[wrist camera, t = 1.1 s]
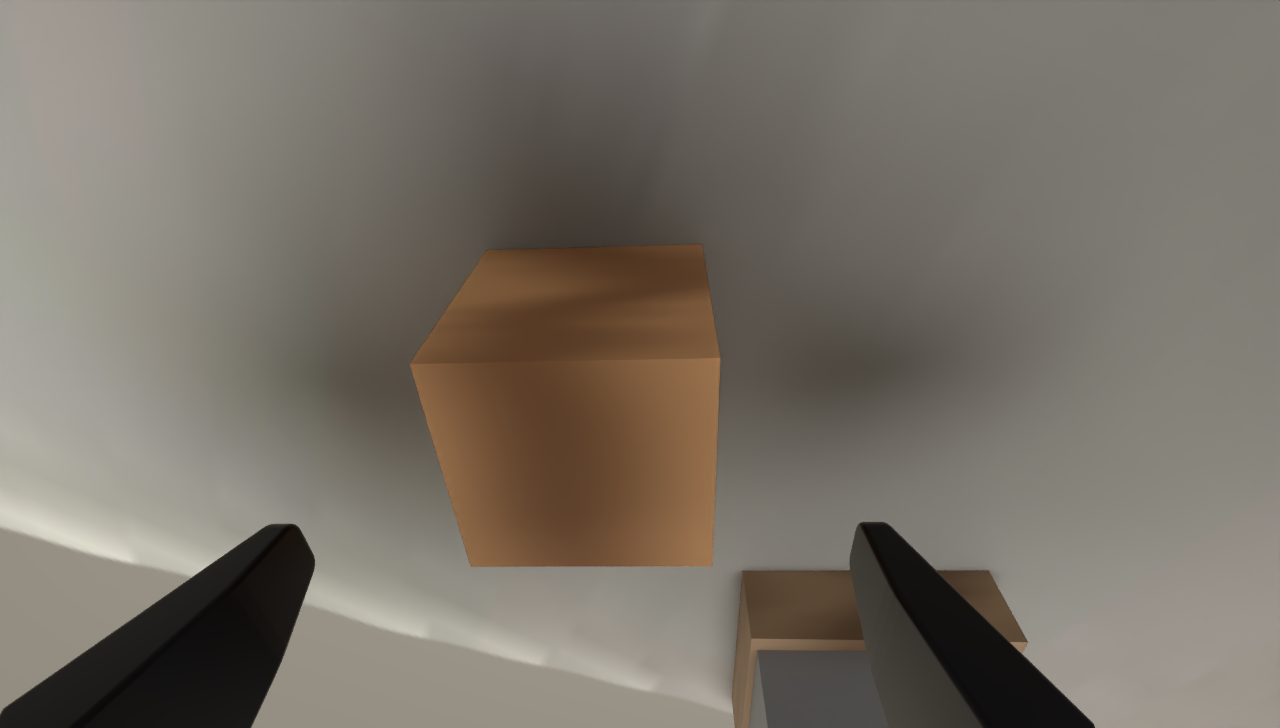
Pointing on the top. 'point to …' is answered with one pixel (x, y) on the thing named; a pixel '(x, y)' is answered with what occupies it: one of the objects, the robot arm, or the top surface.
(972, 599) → the tower base
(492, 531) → the orange cube
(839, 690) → the tower top
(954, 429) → the top surface
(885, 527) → the robot arm
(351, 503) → the top surface
